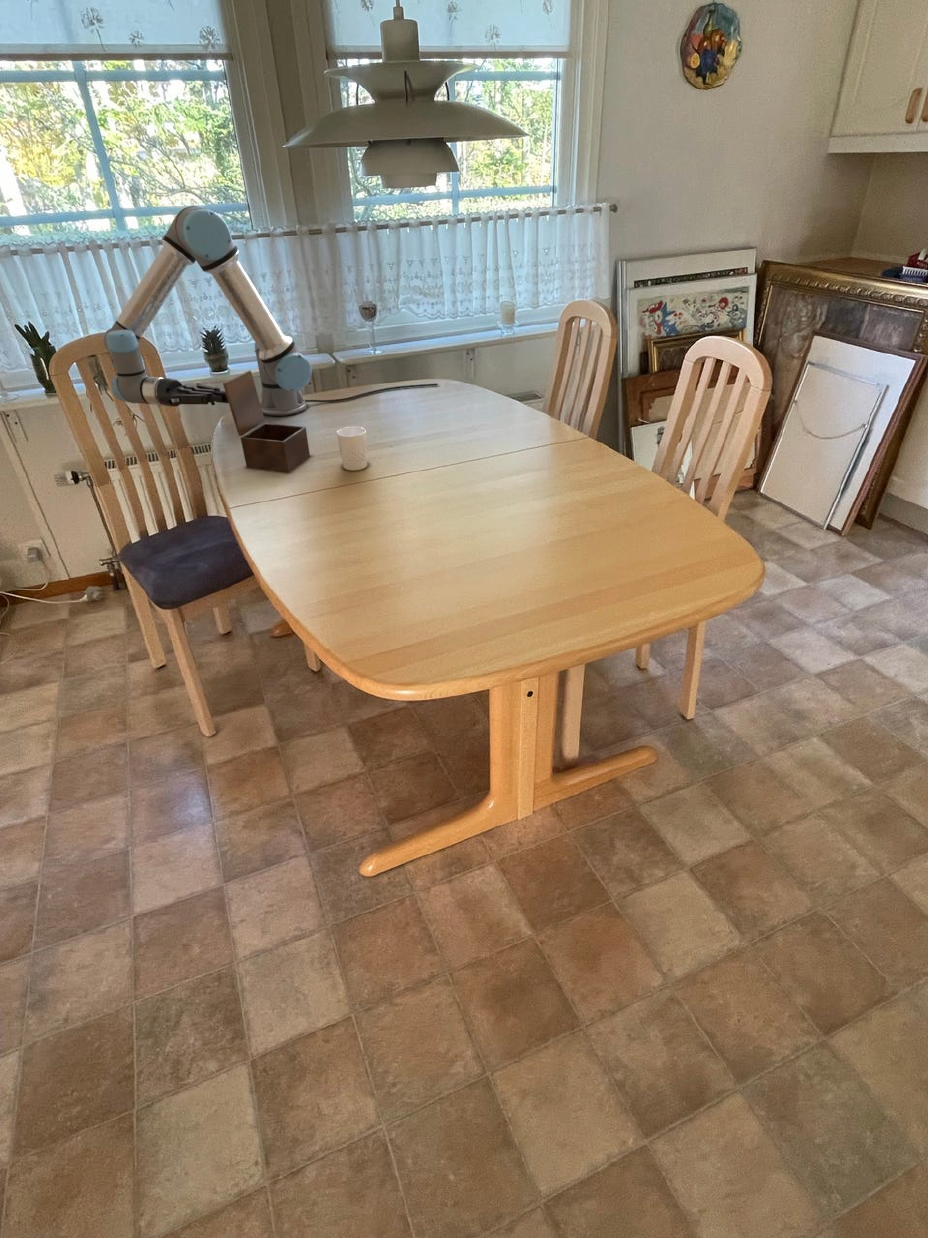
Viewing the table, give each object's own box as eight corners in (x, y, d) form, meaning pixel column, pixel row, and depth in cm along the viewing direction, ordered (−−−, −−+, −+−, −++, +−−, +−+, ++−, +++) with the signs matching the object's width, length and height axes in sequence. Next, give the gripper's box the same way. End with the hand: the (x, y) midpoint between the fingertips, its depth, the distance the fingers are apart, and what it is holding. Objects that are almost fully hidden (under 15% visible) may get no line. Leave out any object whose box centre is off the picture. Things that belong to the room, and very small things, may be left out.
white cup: (355, 473, 190) (351, 438, 184) (335, 467, 194) (330, 432, 188) (375, 464, 195) (371, 429, 189) (355, 458, 199) (351, 424, 193)
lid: (250, 370, 192) (248, 370, 192) (225, 382, 182) (222, 383, 182) (265, 421, 199) (262, 421, 200) (241, 436, 190) (238, 436, 190)
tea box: (310, 456, 201) (305, 426, 196) (288, 472, 191) (283, 442, 187) (269, 451, 205) (264, 422, 200) (246, 467, 195) (240, 437, 190)
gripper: (182, 398, 204) (251, 404, 198) (152, 412, 194) (225, 419, 188) (175, 372, 200) (246, 377, 193) (145, 384, 190) (219, 391, 183)
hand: (236, 398), depth 191 cm, fingers closed
